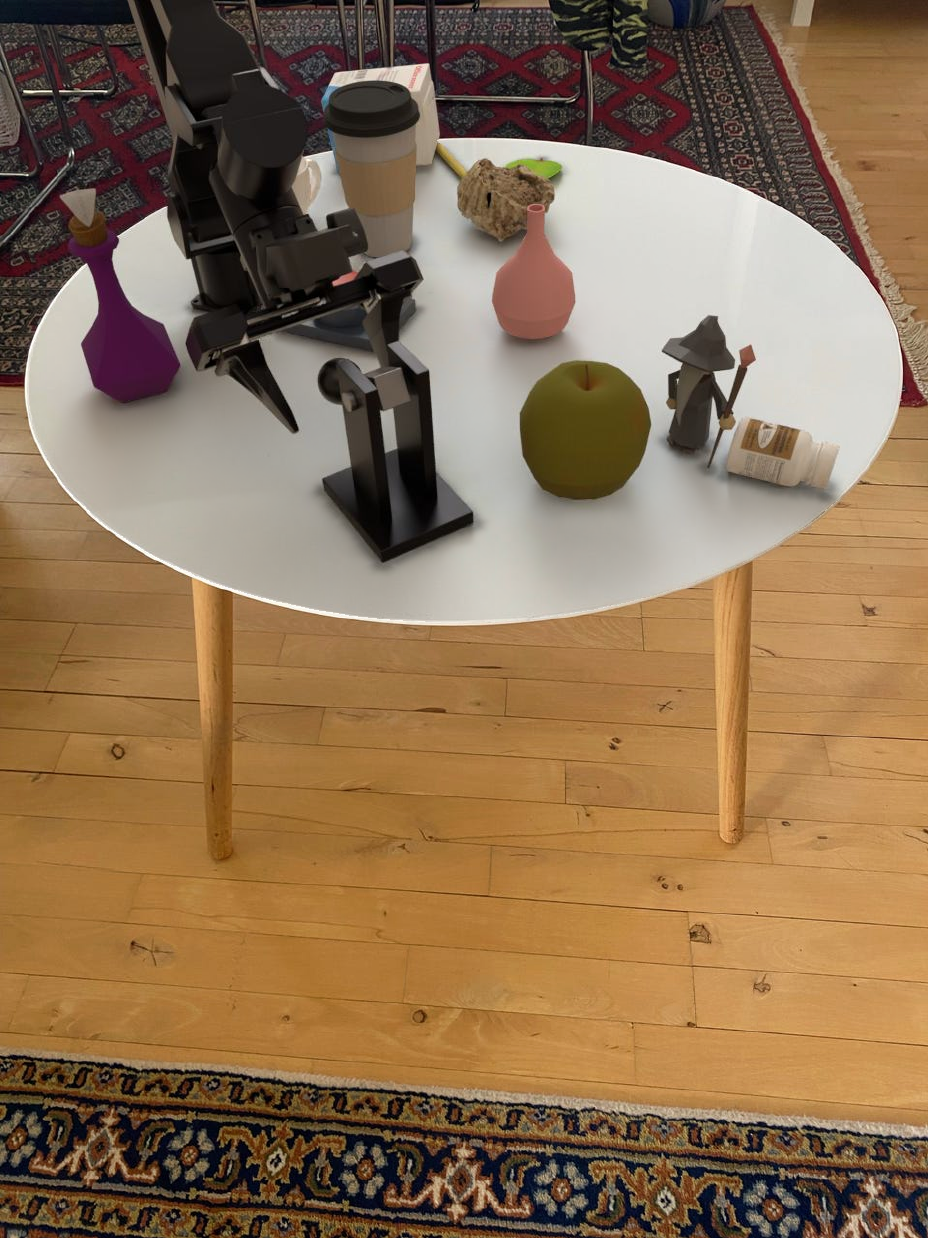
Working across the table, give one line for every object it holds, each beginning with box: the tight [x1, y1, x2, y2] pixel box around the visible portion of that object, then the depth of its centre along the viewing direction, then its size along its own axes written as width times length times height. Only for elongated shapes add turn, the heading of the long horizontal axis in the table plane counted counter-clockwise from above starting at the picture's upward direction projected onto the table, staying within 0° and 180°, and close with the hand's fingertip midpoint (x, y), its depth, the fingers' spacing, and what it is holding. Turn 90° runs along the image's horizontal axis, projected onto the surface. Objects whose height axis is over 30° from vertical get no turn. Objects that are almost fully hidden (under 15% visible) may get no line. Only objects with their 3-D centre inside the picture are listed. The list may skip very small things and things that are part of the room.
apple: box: [519, 359, 652, 501], centre depth 75 cm, size 10×10×11 cm
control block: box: [280, 297, 417, 353], centre depth 95 cm, size 11×8×3 cm
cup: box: [292, 155, 322, 215], centre depth 107 cm, size 8×10×7 cm
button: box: [332, 269, 359, 286], centre depth 93 cm, size 4×4×2 cm
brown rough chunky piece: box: [456, 157, 556, 242], centre depth 105 cm, size 11×7×10 cm
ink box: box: [320, 63, 441, 174], centre depth 116 cm, size 9×8×12 cm
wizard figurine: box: [661, 314, 756, 469], centre depth 76 cm, size 8×6×12 cm
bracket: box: [321, 340, 474, 563], centre depth 73 cm, size 10×8×13 cm
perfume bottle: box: [59, 188, 181, 403], centre depth 83 cm, size 8×8×18 cm
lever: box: [316, 357, 411, 412], centre depth 73 cm, size 12×4×4 cm, turn 31°
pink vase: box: [491, 204, 576, 340], centre depth 89 cm, size 8×8×12 cm
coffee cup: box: [322, 80, 420, 259], centre depth 100 cm, size 9×9×15 cm
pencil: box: [435, 141, 468, 179], centre depth 117 cm, size 1×14×1 cm
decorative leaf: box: [504, 157, 563, 179], centre depth 115 cm, size 8×9×1 cm
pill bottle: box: [725, 416, 841, 490], centre depth 77 cm, size 4×4×8 cm
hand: (348, 412), depth 78 cm, fingers open, 9 cm apart
